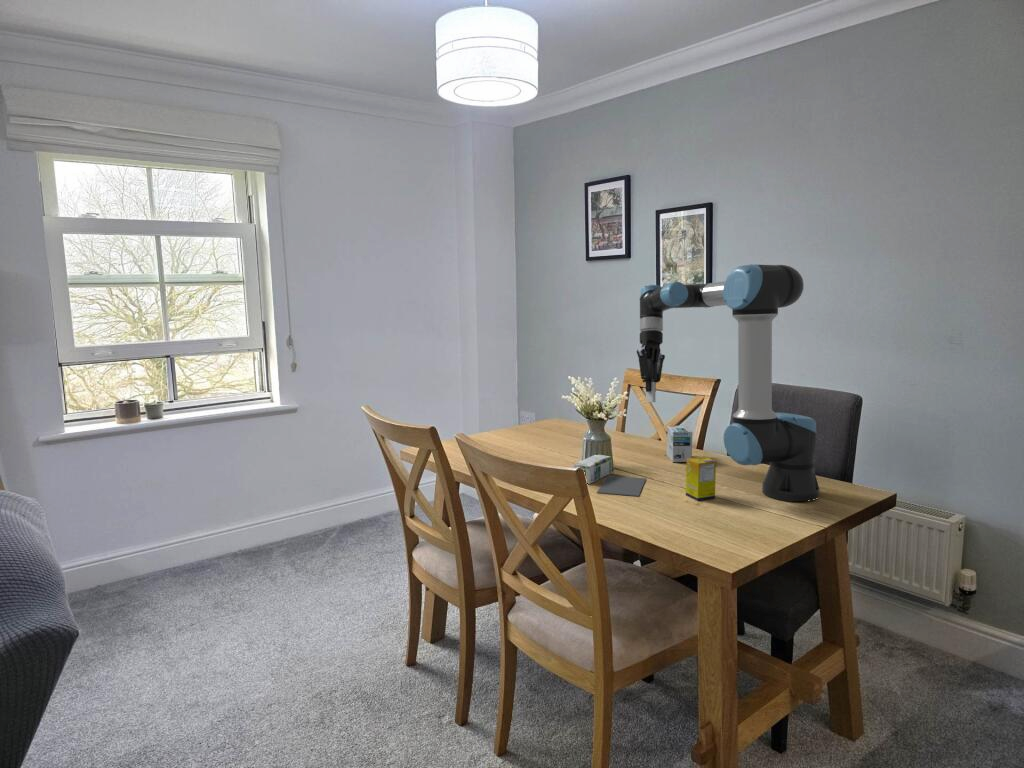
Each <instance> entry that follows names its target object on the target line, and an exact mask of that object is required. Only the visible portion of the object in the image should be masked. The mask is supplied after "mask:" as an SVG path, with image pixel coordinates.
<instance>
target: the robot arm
mask: <svg viewBox="0 0 1024 768" xmlns="http://www.w3.org/2000/svg"><path fill="white" fill-rule="evenodd" d="M804 287H805V286H804V279H803V277H802V274H801V273H800V272H799V271H798V270H797V269H795V268H794V267H792V266H789V265H785V264H746V265H738V266H737V267H735V268H734V269H732V270H731V271H730V272H729V274H728V275H727V276H726V278H725V280H723V281H717V282H709V283H700V284H684V283H682V282H681V281H672V282H669V283H667V284H665V285H663V286H661V285H658V284H648V285H645V286H643V287H641V288H640V291H639V292H640V294H639V331H640V333H639V344H641V348H640V349H637V350H636V354H637V357H638V358H637V359H638V363H639V370H640V371H639V372H640V379H641V380H642V383H645V403H656V393H657V383H660V382H661V378H662V371H663V367H664V366H663V364H664V360H665V359H666V355H665V354H662V353H661V351H662V350H661V347H660V345H661V344H663V342H664V341H663V337H664V336H663V335H664V334H663V331H664V321H663V320H664V319H663V318H664V317H663V313H664V311H667V310H670V309H688V308H689V309H690V308H705V309H707V308H712V307H719V306H720V307H721V306H727V307H728V308H729V309H731V310H732V311H731V312H732V317H733V318H734V320H736V322H737V323H738V325H737V326H738V329H737V331H738V333H737V334H738V335H737V337H738V340H737V341H738V343H737V344H738V347H737V348H738V349H737V351H738V353H737V354H738V356H737V357H738V362H737V363H738V367H737V368H738V369H737V370H738V372H737V373H738V378H737V379H738V382H737V383H738V392H737V393H738V396H737V397H738V409H737V410H736V411H735V412H734V413H733V414H732V423H731V424H729V425H727V426H726V429H724V432H723V444H724V448H725V450H726V452H727V454H728V456H730V458H731V460H733V461H734V462H735V463H737V464H739V465H741V466H757V465H761V464H768V463H769V467H768V470H767V472H766V475H765V477H764V480H763V482H762V486H761V492H762V493H763V494H764V495H765V496H767V497H769V498H772V499H776V500H779V501H786V502H792V501H808V500H813V499H816V498H818V497H819V498H820V487H819V486H820V485H819V483H818V479H817V476H816V472H815V457H816V456H815V455H816V444H817V443H816V441H817V433H818V432H817V422H816V421H815V419H814V418H812V417H809V416H805V415H801V414H795V413H789V412H775V411H773V407H772V406H773V404H772V401H773V400H772V399H773V398H772V397H773V393H772V392H773V391H772V387H773V385H772V384H773V383H772V382H773V372H772V371H773V370H772V369H773V365H772V364H773V363H772V361H773V346H772V345H773V320H774V319H775V318H776V317H778V315H779V309H780V308H785V307H789V306H791V305H793V304H794V303H797V301H798V300H799V299H800V297H801V296H802V294H803V291H804ZM819 498H818V499H819ZM808 502H809V501H808Z"/></svg>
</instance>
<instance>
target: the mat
mask: <svg viewBox="0 0 1024 768" xmlns="http://www.w3.org/2000/svg"><path fill="white" fill-rule="evenodd" d="M646 481H647V478H644V477H634V476H633V477H631V476H630V477H629V476H619V475H618V476H617V475H606V476H605V478H604V480H603V482H602V483H601V485H600V487H599V488H598V490H597V491H596V493H597V494H602V495H613V496H615V495H616V496H623V497H624V496H628V497H636V498H637V497H639V496H640V494H641V493H642V490H643V488H644V486H645V485H644V484H645V483H646Z"/></svg>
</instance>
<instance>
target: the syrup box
mask: <svg viewBox="0 0 1024 768" xmlns="http://www.w3.org/2000/svg"><path fill="white" fill-rule="evenodd" d="M612 460H613V459H612V456H608V455H602V454H598V455H596V454H594V455H591V456H589V457H587V458H584V459H582V460H580V461H578V462H575V463H573V469H574V468H576V467H580V468H582V469H584V472H585V476H586V479H587V482H588V485H590V484H592V483H594V482H596V481H598V480H601V479H602V478H604V477H607V475H608V476H610V475H611V474H612V462H613V461H612Z"/></svg>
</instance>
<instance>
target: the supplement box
mask: <svg viewBox="0 0 1024 768" xmlns="http://www.w3.org/2000/svg"><path fill="white" fill-rule="evenodd" d="M716 468H717V461H716V460H714V459H711V458H709V457H706V456H695V457H692V458H687V463H686V466H685V469H686V470H685V472H686V473H685V496H686V497H689V498H690V499H693V500H695V501H697V502H699V501H705V500H711V499H715V498H716V471H717V470H716Z"/></svg>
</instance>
